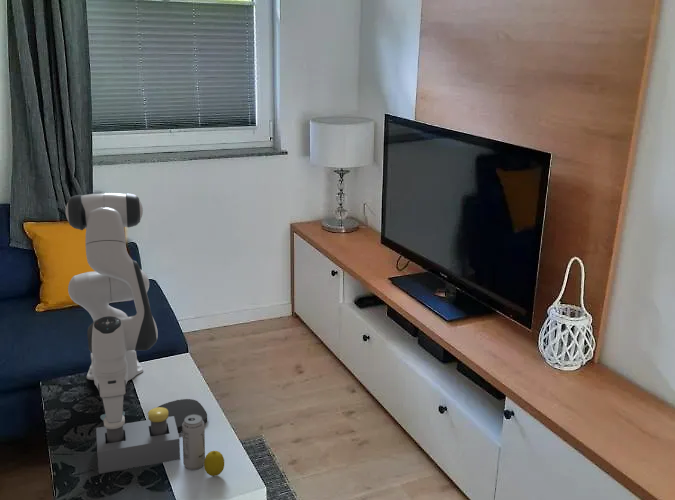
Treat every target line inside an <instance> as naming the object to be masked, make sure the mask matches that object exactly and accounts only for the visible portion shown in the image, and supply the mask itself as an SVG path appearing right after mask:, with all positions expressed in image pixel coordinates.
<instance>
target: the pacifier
mask: <svg viewBox="0 0 675 500" xmlns="http://www.w3.org/2000/svg"><path fill="white" fill-rule="evenodd" d="M125 415H126V412H125V411H124V410H123V416H124V417H125ZM99 417H100V419H101V420H102V422H104V418H105V417H106V414H105V413H104V414H101V415H100V416H99Z"/></svg>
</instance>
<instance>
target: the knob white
mask: <svg viewBox="0 0 675 500" xmlns="http://www.w3.org/2000/svg"><path fill="white" fill-rule="evenodd" d="M125 418H126V417H125V416H123V415H122V421H121V422H117V423H108V422H107V418H106V417H105V418H104V421H103V427H105V428H106V429H107V442H108V443H114V442H120V441H124V435H123V425H124V424H125V423H126V419H125Z"/></svg>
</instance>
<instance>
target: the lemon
mask: <svg viewBox="0 0 675 500" xmlns="http://www.w3.org/2000/svg"><path fill="white" fill-rule="evenodd" d="M203 467H204V470H205V473H206V474H207V475H209V476H211V477H216V476H218V475H221V473H222V472H223V470H224V468H225V458H224V456H223V454H222V453H221V452H220V451H218V450H212V451H210V452H208V453H207V454H205V460H204V465H203Z"/></svg>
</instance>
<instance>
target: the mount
mask: <svg viewBox="0 0 675 500" xmlns="http://www.w3.org/2000/svg"><path fill="white" fill-rule="evenodd" d="M166 420H167V434H164V435H157V436H151V421H150V420H149V419H146V420H140V421H139V420H138V421H134V422H133V421H132V422H125V424H124V425H123V435H124V441H120V442H114V443H108V442H107V429H106V428H105V427H104V426H101V427H95V430H96V431H95V434H96V451H97V452H96V453H97V465H98V474H99V475H101V474H104V473H111V472H117V471H123V470H127V469H128V468H129V469H134V468H133V467H135V468H139V466H140V467H145V465H146V466H150V465H156V464H163V463H167V462H175V461H180V460H181V447H180V444H181V443H180V442H181V441H180V435H179V433H178V431H177V426H176V422H175V418H174V416H171V417H168V418H167V419H166ZM129 469H128V470H129Z"/></svg>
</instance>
